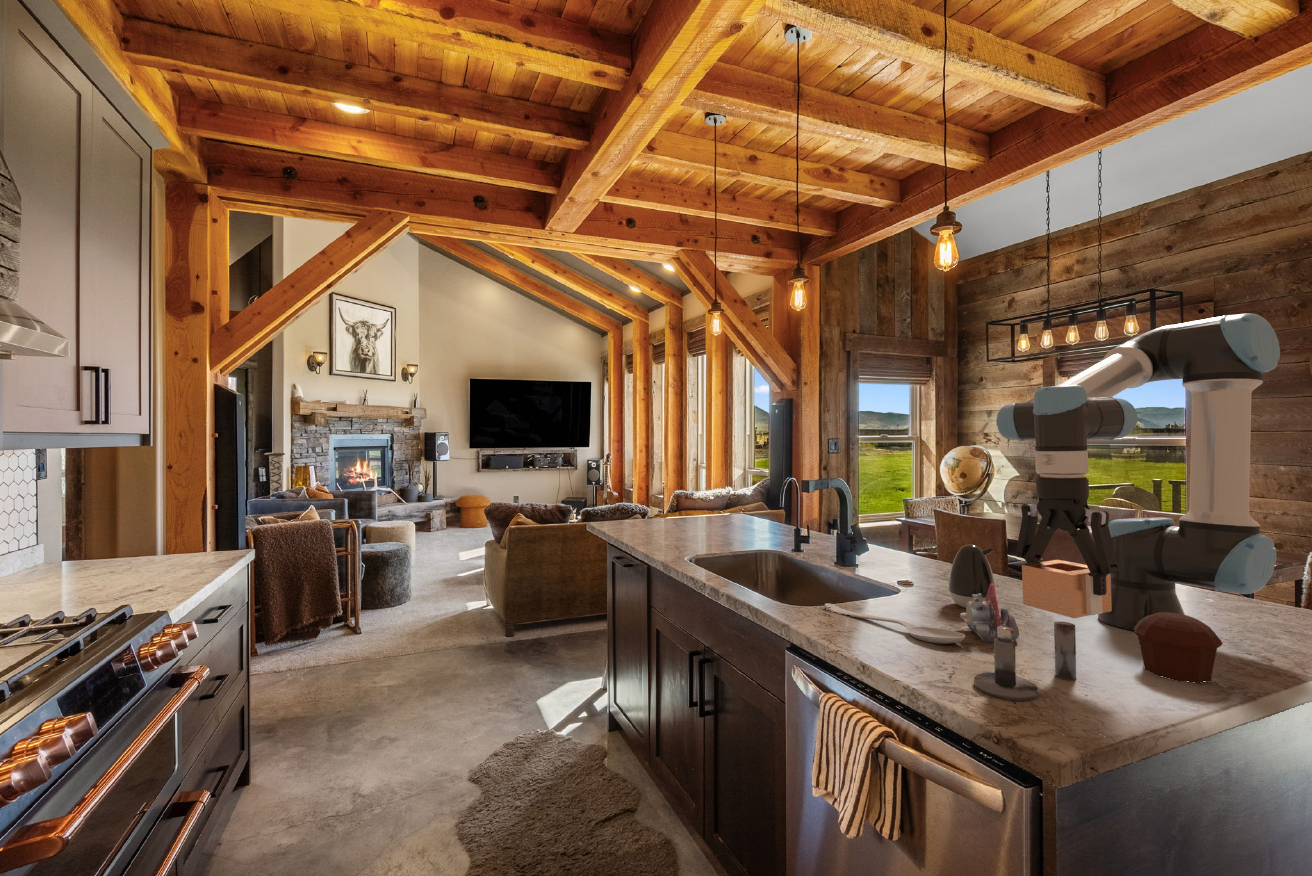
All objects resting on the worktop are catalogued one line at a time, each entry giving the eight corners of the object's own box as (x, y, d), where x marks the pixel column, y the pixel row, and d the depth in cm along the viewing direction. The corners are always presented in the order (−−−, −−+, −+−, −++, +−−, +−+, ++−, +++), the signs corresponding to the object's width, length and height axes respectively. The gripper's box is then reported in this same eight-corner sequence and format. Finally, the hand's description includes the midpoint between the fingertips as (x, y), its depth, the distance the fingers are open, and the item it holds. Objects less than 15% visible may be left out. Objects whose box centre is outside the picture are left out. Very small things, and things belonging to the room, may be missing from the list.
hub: (1001, 675, 103) (1000, 617, 103) (1051, 695, 95) (1050, 632, 95) (961, 683, 100) (960, 623, 100) (1009, 705, 91) (1008, 640, 92)
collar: (1059, 598, 108) (1057, 559, 108) (1111, 611, 100) (1110, 569, 100) (1023, 604, 105) (1021, 564, 105) (1074, 618, 96) (1072, 575, 96)
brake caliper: (1038, 636, 116) (995, 585, 118) (989, 666, 118) (948, 615, 120) (1021, 619, 127) (982, 572, 129) (976, 647, 129) (938, 601, 131)
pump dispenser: (1006, 612, 140) (1004, 547, 140) (961, 612, 140) (960, 548, 140) (982, 600, 150) (981, 540, 150) (941, 601, 150) (940, 541, 150)
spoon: (975, 645, 118) (974, 632, 118) (952, 652, 114) (951, 638, 114) (837, 611, 148) (837, 601, 148) (815, 616, 144) (814, 605, 144)
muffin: (1118, 663, 107) (1116, 608, 107) (1165, 657, 110) (1164, 603, 110) (1190, 690, 96) (1189, 628, 96) (1241, 683, 98) (1240, 622, 98)
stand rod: (1063, 671, 104) (1062, 620, 104) (1080, 678, 101) (1079, 625, 101) (1051, 674, 103) (1049, 622, 103) (1068, 681, 100) (1067, 627, 100)
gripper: (990, 473, 111) (993, 593, 111) (1113, 480, 91) (1118, 627, 91) (1019, 471, 114) (1023, 589, 114) (1146, 477, 93) (1150, 620, 93)
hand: (1065, 606), depth 102 cm, fingers closed on collar, 9 cm apart
